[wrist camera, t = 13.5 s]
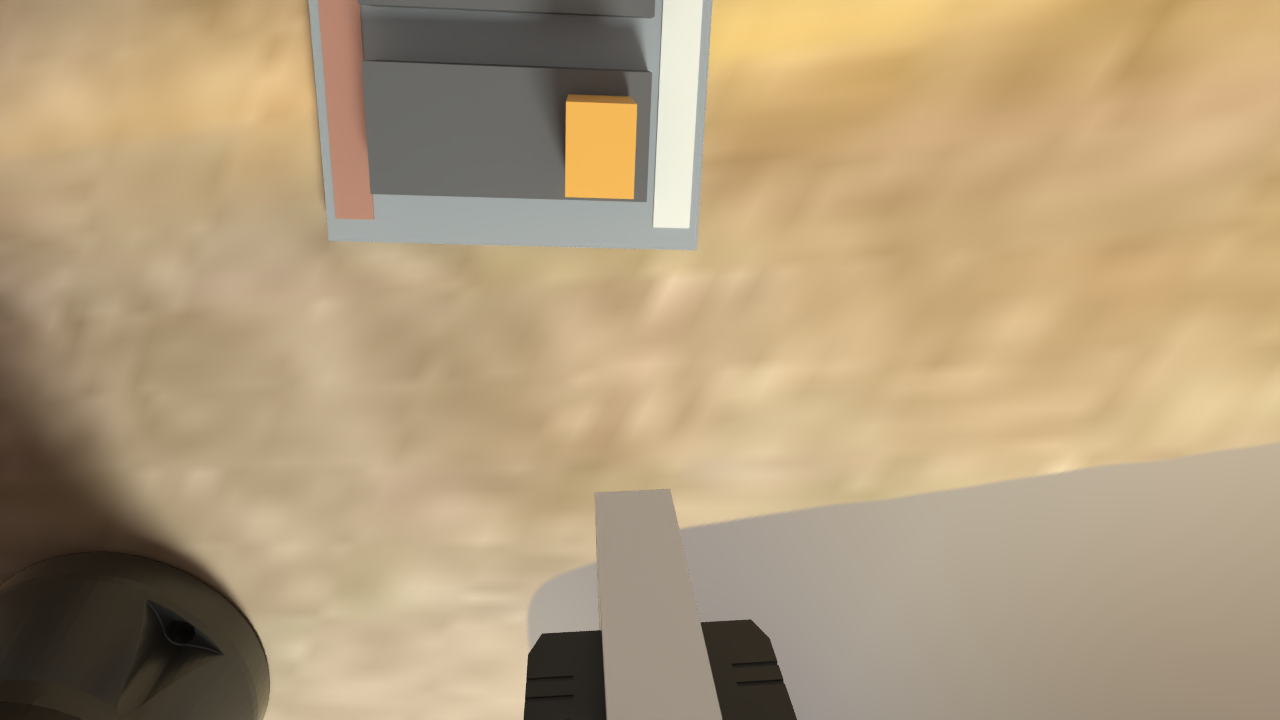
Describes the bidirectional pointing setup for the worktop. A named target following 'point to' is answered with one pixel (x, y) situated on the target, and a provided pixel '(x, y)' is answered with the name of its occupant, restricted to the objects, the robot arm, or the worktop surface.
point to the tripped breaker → (600, 146)
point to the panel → (514, 209)
